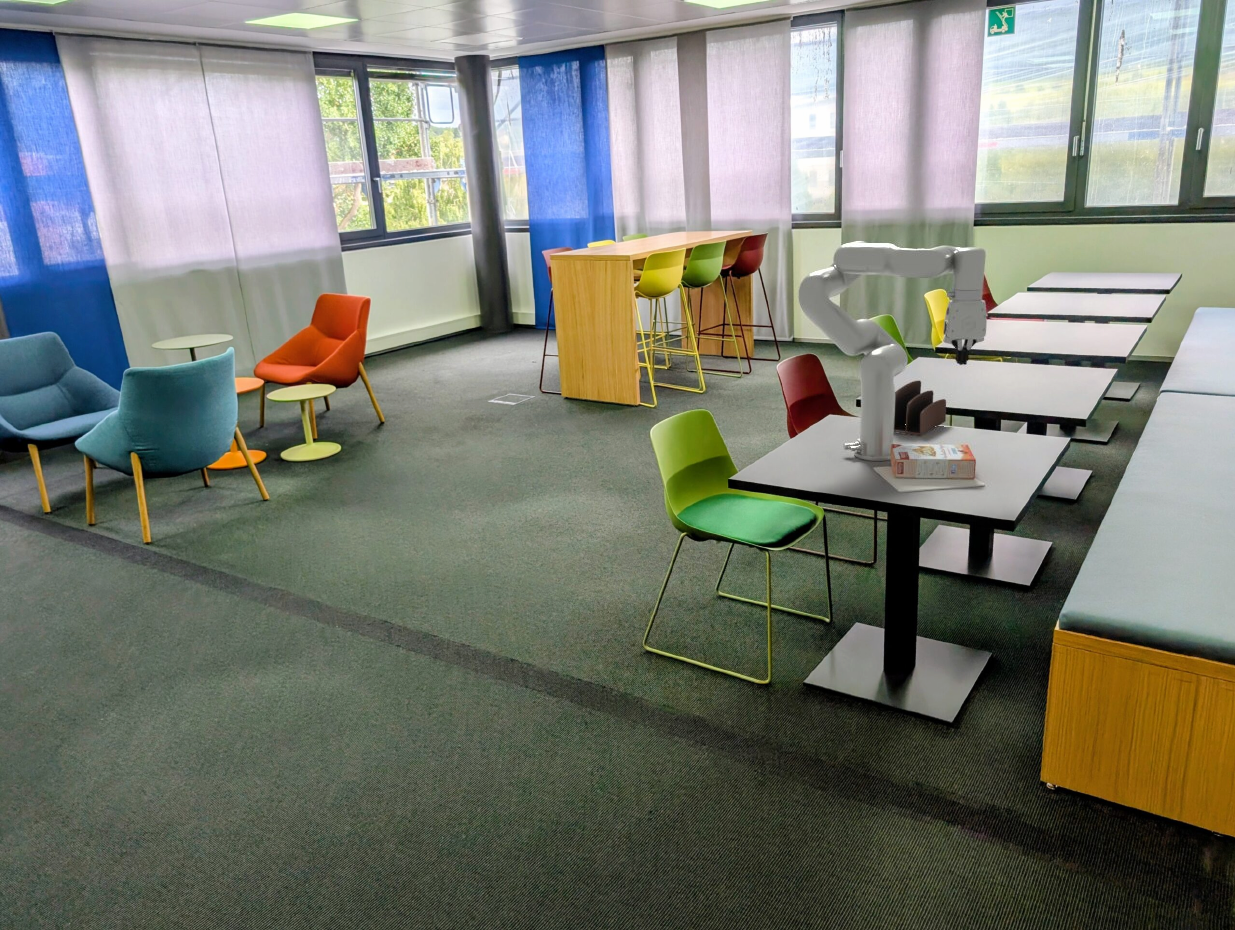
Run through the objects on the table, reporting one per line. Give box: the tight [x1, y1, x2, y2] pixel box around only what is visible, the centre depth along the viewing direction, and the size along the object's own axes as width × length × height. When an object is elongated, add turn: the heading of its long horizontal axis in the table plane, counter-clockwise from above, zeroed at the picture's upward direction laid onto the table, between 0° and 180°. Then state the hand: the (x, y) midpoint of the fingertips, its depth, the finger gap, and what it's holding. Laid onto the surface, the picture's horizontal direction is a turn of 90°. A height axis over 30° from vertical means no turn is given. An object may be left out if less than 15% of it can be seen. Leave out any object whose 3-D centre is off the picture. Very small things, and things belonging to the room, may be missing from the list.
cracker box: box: [890, 443, 977, 479], centre depth 251 cm, size 14×6×21 cm
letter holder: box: [894, 380, 947, 437], centre depth 292 cm, size 10×20×14 cm, turn 139°
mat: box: [873, 465, 986, 493], centre depth 249 cm, size 23×20×1 cm
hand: (961, 363), depth 247 cm, fingers closed
